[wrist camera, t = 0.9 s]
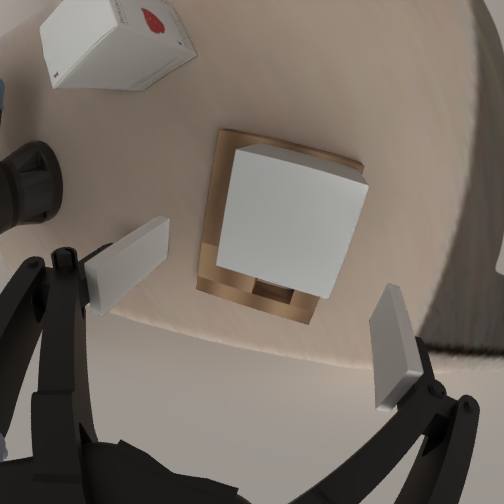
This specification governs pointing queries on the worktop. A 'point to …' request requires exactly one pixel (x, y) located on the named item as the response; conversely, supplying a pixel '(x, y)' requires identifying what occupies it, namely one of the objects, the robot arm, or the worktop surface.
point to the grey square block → (289, 217)
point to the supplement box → (113, 44)
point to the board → (209, 274)
